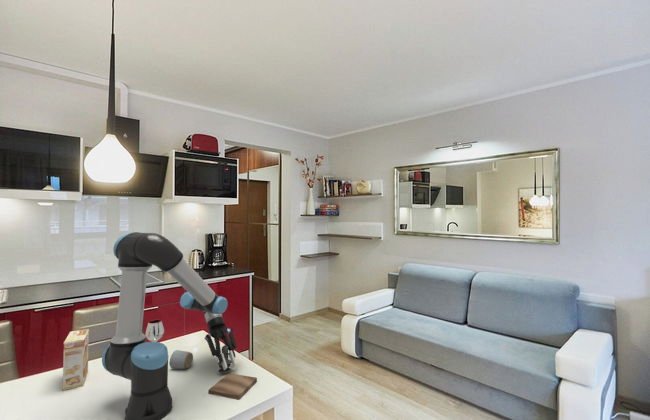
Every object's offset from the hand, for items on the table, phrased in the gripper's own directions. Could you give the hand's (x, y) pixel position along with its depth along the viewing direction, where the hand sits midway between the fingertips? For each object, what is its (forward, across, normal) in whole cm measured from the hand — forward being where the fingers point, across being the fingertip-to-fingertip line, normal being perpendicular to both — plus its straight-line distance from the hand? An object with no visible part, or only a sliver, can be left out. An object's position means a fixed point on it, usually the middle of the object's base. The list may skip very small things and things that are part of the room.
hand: (230, 366), depth 139 cm
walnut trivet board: (+9, +3, +4) cm, 11 cm away
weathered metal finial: (-1, 0, -6) cm, 6 cm away
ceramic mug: (-14, +12, -20) cm, 27 cm away
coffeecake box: (-27, +50, -33) cm, 66 cm away
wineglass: (-27, +19, -33) cm, 47 cm away
